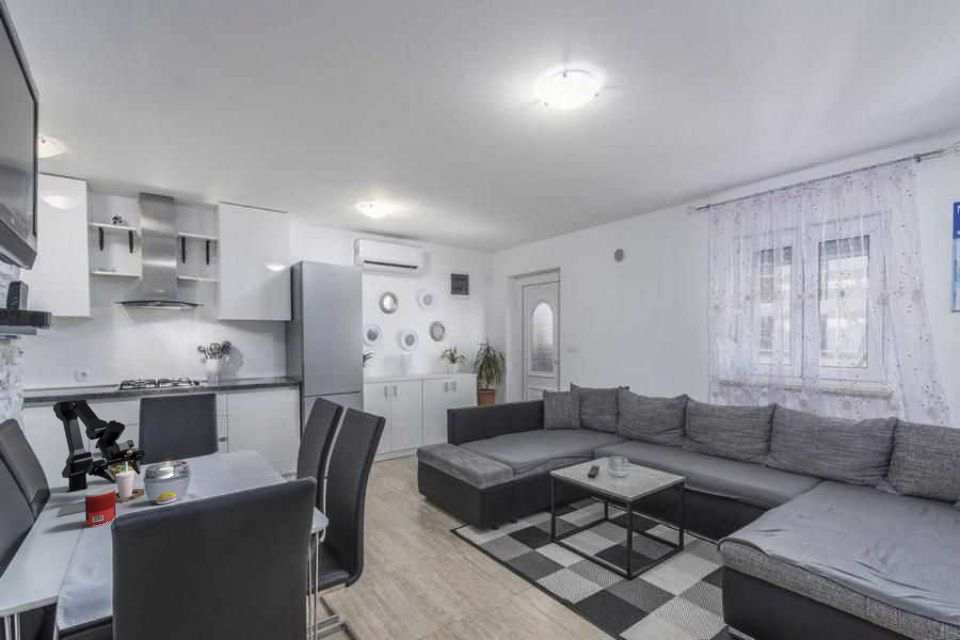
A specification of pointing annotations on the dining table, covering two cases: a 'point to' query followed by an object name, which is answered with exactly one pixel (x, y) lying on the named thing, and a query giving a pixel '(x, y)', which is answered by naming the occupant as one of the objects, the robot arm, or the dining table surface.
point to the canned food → (100, 506)
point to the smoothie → (125, 482)
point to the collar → (126, 499)
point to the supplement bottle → (166, 497)
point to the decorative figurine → (121, 466)
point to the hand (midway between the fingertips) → (127, 477)
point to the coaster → (72, 509)
